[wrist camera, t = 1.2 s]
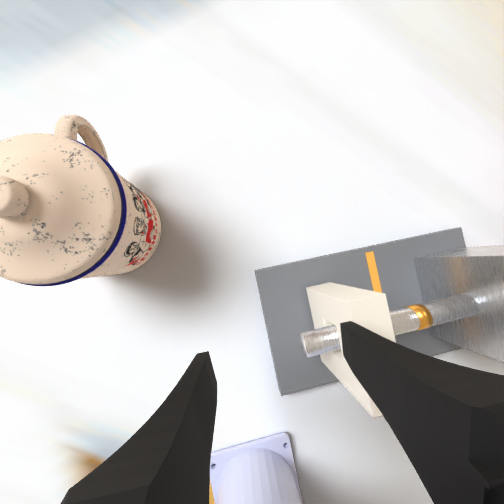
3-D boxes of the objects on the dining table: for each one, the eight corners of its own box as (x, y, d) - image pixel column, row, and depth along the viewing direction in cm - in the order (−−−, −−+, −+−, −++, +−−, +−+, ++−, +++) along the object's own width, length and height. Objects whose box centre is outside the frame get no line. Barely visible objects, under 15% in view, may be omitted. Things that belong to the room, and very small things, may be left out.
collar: (345, 354, 22) (410, 407, 14) (321, 360, 22) (373, 418, 14) (329, 282, 22) (385, 293, 14) (305, 287, 22) (348, 302, 14)
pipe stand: (474, 324, 24) (648, 369, 14) (297, 369, 22) (352, 458, 12) (456, 248, 24) (617, 238, 14) (280, 286, 22) (320, 307, 12)
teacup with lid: (165, 275, 22) (95, 289, 11) (65, 278, 22) (-126, 297, 10) (164, 154, 23) (96, 43, 11) (66, 152, 22) (-115, 31, 11)
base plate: (474, 337, 25) (488, 341, 24) (278, 389, 23) (281, 396, 22) (450, 229, 25) (462, 227, 24) (254, 270, 23) (255, 270, 22)
